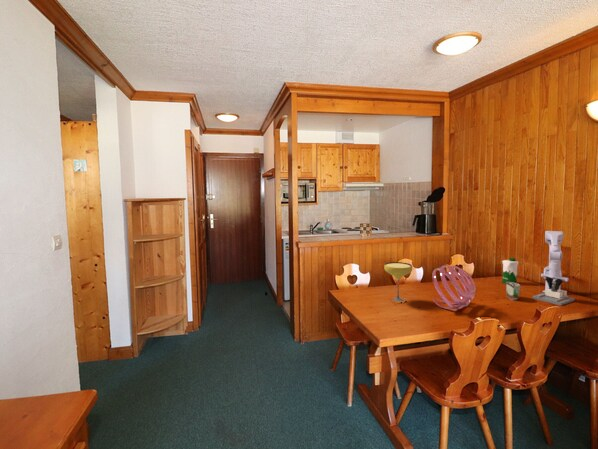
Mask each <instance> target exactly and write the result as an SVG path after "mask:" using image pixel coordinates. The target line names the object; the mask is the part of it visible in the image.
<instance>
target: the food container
mask: <svg viewBox="0 0 598 449" xmlns="http://www.w3.org/2000/svg"><path fill="white" fill-rule="evenodd" d="M505 289H506V292H505V293H506V294H505V295H506V297H507V298H508V299H509V300H511V301H513V302H514V301H518V300H519V298H520V290H521V284H519V283H518V282H517V283H513V282H506V283H505Z"/></svg>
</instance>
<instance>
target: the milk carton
mask: <svg viewBox="0 0 598 449" xmlns="http://www.w3.org/2000/svg"><path fill="white" fill-rule="evenodd" d="M501 261H502V262H501V263H502V278H501V279H502V281H501V283H503V284H506V282H513V283H517V284H518V278H517V276H518V265H519V261H518V260H516V257H509V259H504V260H501Z"/></svg>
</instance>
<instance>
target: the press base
mask: <svg viewBox="0 0 598 449" xmlns="http://www.w3.org/2000/svg"><path fill="white" fill-rule="evenodd" d="M550 290H551V289H550ZM557 291H559V292H563V298H560V299H559V298H555V297H550V296H546V295H545V292H542V293H539V294H535V295H532V299H534V300H537V301H541V302H545V303H550V304H554V305H556V306H564V305H566V304H569V303H572V302H575V301H576V300H575V298H574V297H570V296H568V294H567V290H563V289H560V290H559V289H558V290H557Z"/></svg>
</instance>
